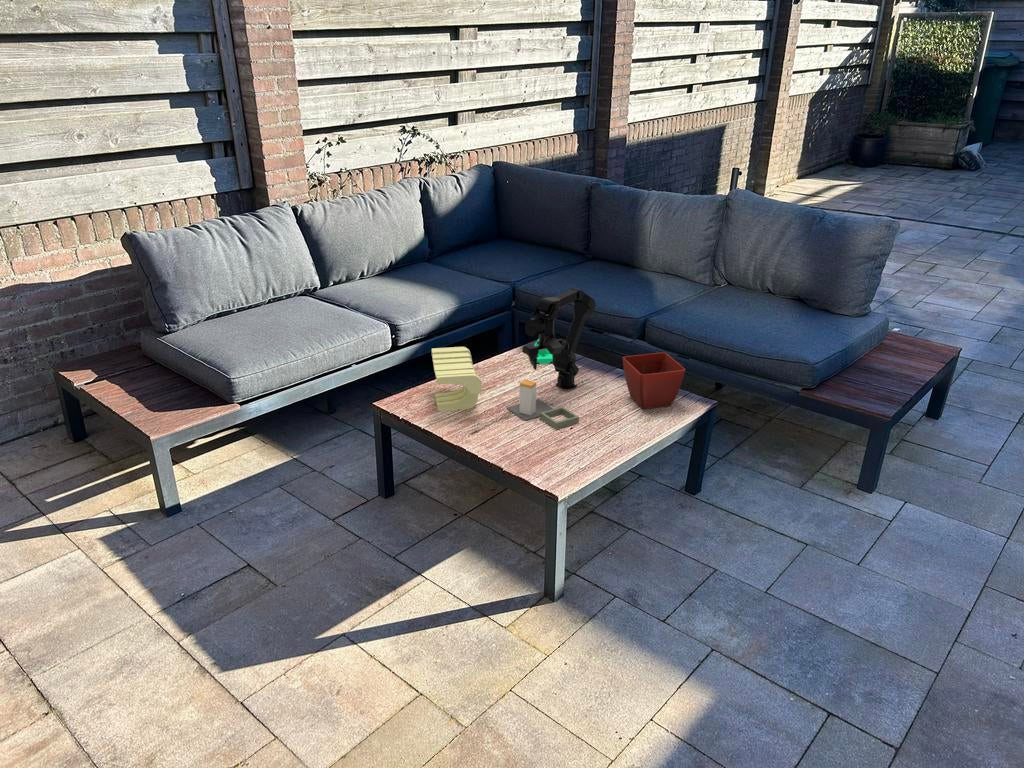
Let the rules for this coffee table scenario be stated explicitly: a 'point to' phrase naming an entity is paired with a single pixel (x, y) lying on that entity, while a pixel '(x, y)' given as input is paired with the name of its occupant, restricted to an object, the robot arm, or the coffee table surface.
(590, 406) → the coffee table surface
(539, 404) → the rubber mat
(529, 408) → the block
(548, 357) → the camera mount
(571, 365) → the robot arm
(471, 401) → the slatted curved stool
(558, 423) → the case bay
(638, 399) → the plant pot
